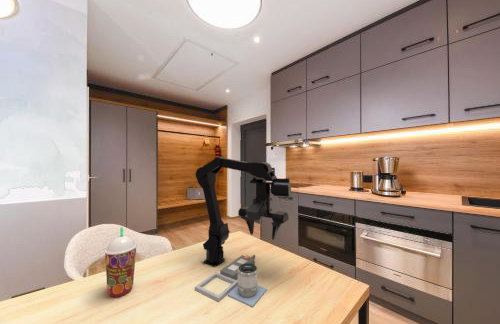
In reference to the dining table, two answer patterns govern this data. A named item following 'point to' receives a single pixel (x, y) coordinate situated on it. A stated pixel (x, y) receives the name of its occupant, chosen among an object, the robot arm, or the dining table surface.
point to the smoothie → (120, 265)
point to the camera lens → (247, 280)
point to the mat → (248, 300)
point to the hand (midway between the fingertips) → (262, 237)
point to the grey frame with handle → (225, 277)
